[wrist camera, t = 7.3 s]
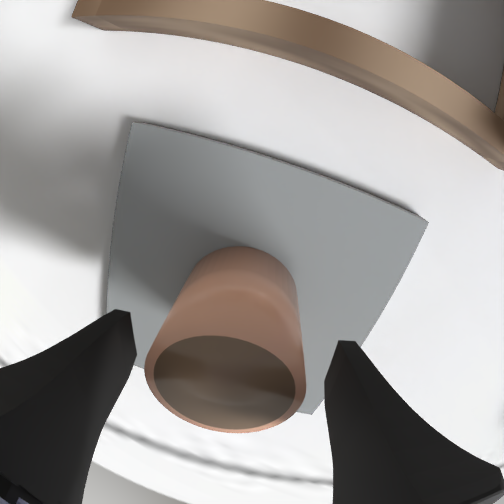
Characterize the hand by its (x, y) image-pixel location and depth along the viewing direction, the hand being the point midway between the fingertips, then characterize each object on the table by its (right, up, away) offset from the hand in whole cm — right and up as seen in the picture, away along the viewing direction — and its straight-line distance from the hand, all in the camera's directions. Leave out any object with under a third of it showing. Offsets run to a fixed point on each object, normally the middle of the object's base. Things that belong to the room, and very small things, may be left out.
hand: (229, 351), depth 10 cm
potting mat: (0, +1, +3) cm, 4 cm away
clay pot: (0, +1, +3) cm, 3 cm away
